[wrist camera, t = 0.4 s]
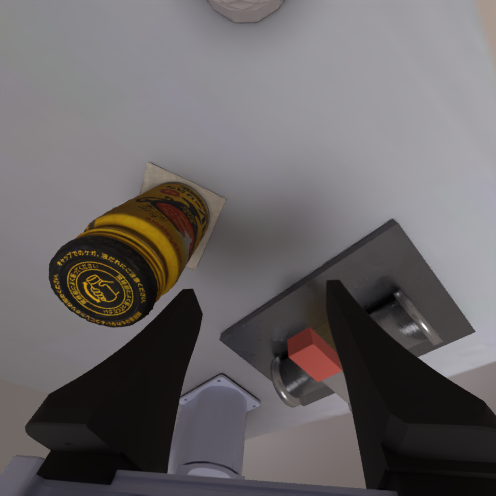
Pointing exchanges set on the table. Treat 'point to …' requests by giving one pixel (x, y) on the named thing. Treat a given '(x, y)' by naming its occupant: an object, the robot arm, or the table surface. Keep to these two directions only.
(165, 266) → the condiment
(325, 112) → the table surface
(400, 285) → the valve body
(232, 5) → the white cup
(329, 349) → the valve lever
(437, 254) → the table surface
